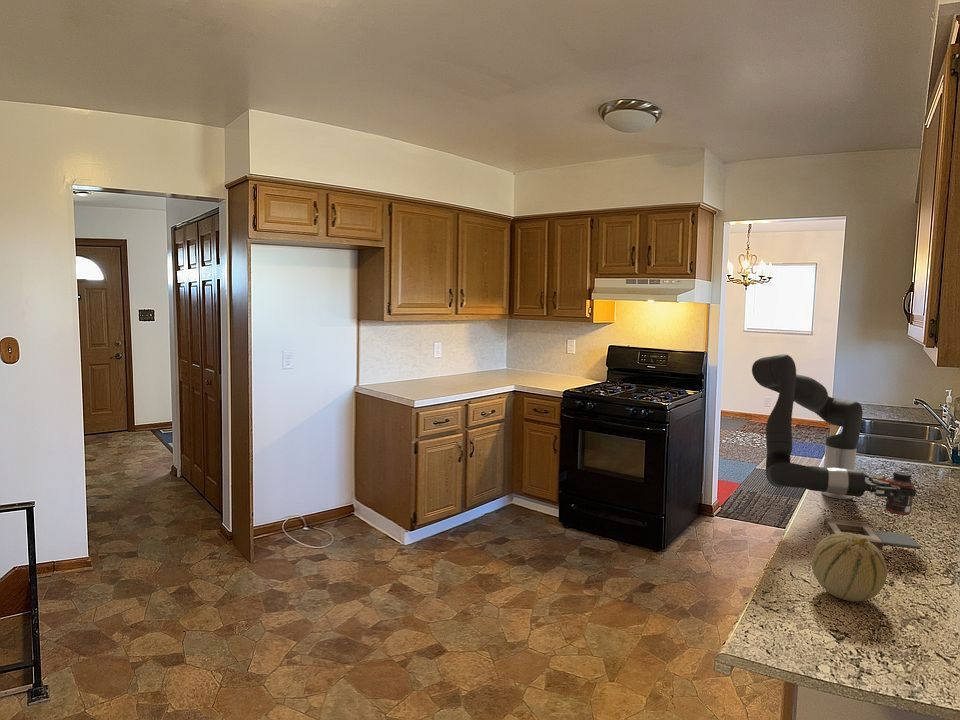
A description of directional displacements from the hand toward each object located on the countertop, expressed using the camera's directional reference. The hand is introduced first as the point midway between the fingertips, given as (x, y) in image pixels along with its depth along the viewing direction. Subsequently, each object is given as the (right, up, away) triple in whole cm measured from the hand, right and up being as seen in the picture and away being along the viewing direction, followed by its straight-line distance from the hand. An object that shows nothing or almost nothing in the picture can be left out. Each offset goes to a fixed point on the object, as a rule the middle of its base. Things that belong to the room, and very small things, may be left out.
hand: (910, 489), depth 175 cm
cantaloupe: (-37, -18, -32) cm, 52 cm away
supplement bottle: (-3, -7, +1) cm, 8 cm away
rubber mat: (-3, -15, +2) cm, 15 cm away
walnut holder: (-13, -14, +5) cm, 20 cm away
